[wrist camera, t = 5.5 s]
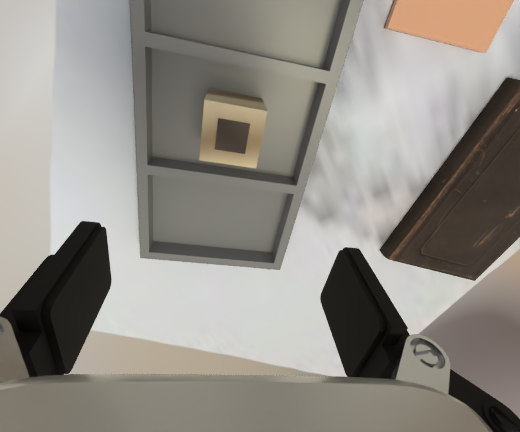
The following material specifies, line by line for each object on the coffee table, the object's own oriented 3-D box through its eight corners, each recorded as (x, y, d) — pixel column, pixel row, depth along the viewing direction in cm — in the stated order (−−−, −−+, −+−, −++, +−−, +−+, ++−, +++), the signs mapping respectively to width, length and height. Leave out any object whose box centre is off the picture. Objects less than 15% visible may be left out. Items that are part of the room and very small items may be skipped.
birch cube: (208, 88, 26) (204, 99, 22) (262, 98, 27) (267, 111, 23) (203, 141, 29) (199, 160, 25) (252, 148, 30) (256, 168, 25)
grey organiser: (134, -179, 18) (121, -206, 16) (381, -97, 21) (397, -110, 19) (145, 244, 36) (140, 257, 34) (277, 256, 39) (279, 269, 37)
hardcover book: (603, 127, 33) (626, 133, 31) (464, 269, 44) (474, 281, 42) (502, 76, 29) (521, 79, 27) (377, 247, 40) (385, 258, 38)
